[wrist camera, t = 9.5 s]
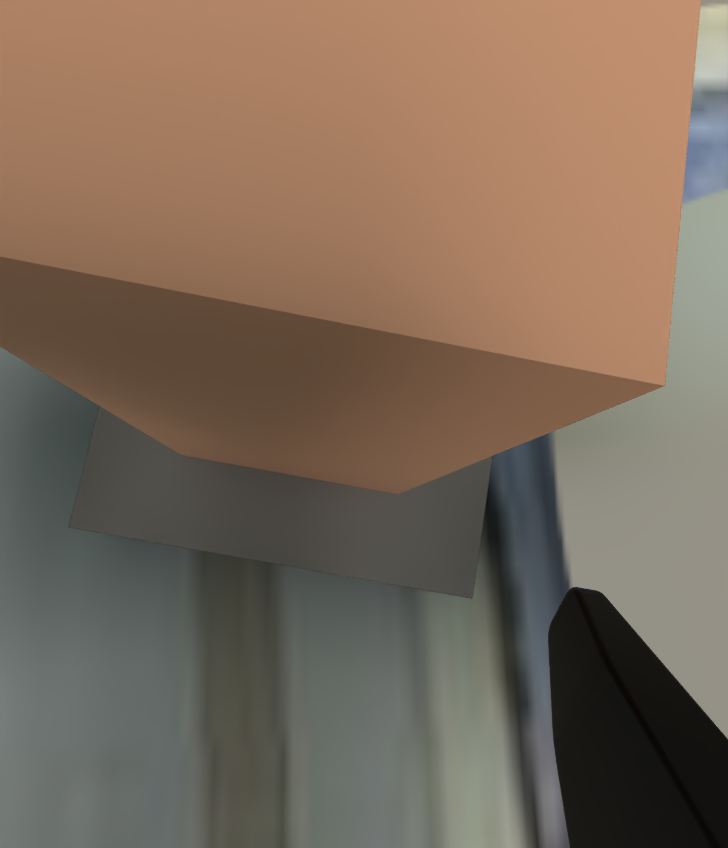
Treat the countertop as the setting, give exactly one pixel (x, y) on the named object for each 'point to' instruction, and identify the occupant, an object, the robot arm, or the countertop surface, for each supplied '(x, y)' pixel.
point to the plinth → (283, 513)
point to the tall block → (344, 219)
